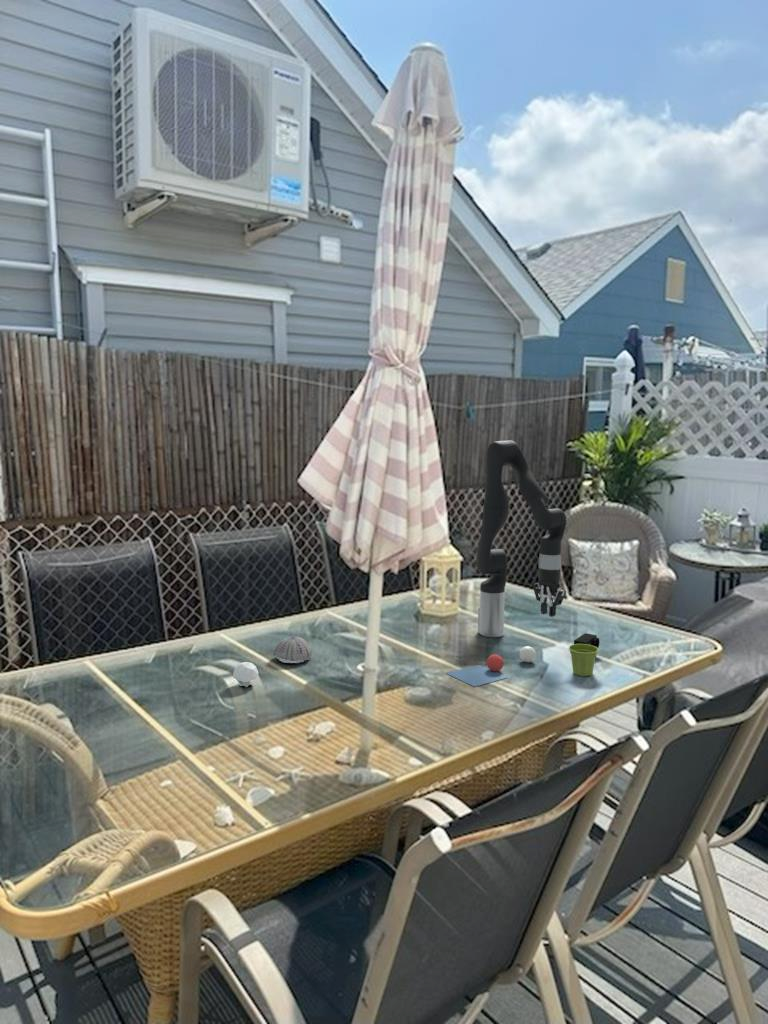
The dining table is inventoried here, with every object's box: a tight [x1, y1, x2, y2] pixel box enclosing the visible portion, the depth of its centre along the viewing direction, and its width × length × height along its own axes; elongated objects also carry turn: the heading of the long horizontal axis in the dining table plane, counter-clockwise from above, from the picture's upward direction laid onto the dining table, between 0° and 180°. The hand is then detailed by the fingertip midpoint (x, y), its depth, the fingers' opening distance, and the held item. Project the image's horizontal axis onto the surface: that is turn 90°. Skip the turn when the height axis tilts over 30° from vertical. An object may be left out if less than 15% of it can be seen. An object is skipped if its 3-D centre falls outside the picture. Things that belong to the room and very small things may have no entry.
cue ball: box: [519, 645, 537, 663], centre depth 245 cm, size 6×6×6 cm
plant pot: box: [568, 643, 599, 677], centre depth 234 cm, size 9×9×9 cm
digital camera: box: [573, 632, 600, 649], centre depth 250 cm, size 10×5×7 cm, turn 143°
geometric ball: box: [232, 661, 259, 682], centre depth 224 cm, size 8×8×8 cm
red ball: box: [486, 654, 504, 672], centre depth 237 cm, size 6×6×6 cm
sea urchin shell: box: [273, 636, 313, 661], centre depth 248 cm, size 13×14×8 cm
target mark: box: [446, 664, 508, 688], centre depth 233 cm, size 14×14×1 cm
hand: (548, 614), depth 249 cm, fingers open, 3 cm apart
